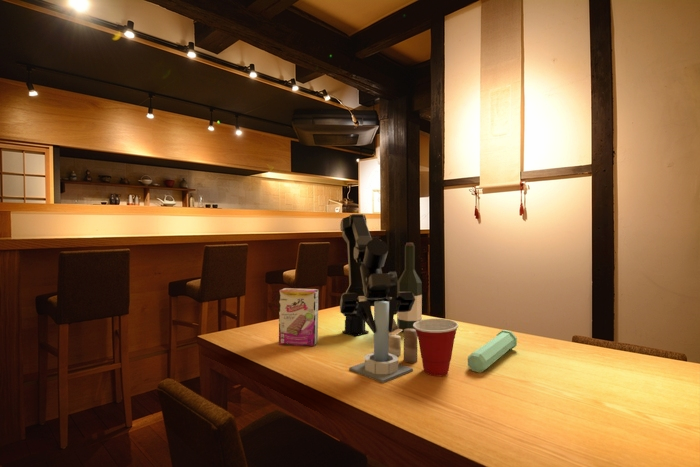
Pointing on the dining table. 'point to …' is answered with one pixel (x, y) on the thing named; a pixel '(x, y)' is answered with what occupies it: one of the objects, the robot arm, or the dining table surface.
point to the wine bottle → (410, 290)
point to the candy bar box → (298, 316)
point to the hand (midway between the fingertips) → (382, 331)
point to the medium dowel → (410, 345)
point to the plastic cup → (436, 344)
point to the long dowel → (381, 331)
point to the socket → (381, 368)
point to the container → (492, 351)
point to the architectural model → (395, 329)
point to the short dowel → (395, 345)
